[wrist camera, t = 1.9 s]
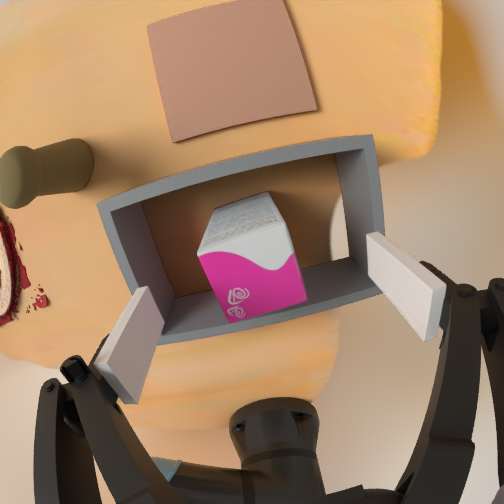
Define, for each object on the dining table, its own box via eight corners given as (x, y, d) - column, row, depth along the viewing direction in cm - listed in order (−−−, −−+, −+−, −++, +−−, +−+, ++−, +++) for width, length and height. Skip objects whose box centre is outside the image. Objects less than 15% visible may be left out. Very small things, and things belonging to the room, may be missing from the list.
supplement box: (211, 209, 26) (193, 250, 16) (268, 189, 26) (291, 218, 15) (231, 260, 28) (228, 327, 18) (285, 242, 28) (313, 300, 17)
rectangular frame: (358, 262, 29) (385, 292, 23) (171, 306, 30) (157, 345, 24) (340, 136, 24) (372, 134, 18) (128, 189, 25) (96, 203, 19)
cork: (77, 127, 22) (9, 126, 12) (103, 169, 24) (37, 185, 14) (45, 162, 23) (-21, 177, 13) (69, 202, 25) (5, 232, 15)
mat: (315, 110, 23) (317, 109, 23) (174, 142, 24) (172, 142, 23) (280, -2, 18) (280, -5, 18) (148, 27, 19) (146, 25, 18)
